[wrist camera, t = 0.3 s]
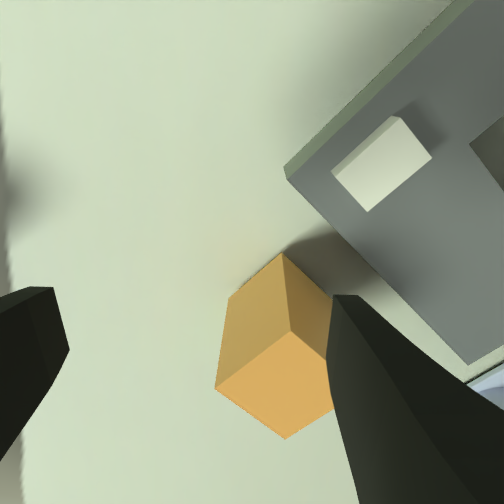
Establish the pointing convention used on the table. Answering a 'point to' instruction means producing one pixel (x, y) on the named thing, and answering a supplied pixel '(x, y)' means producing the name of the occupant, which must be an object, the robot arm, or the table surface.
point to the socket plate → (424, 176)
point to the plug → (277, 348)
